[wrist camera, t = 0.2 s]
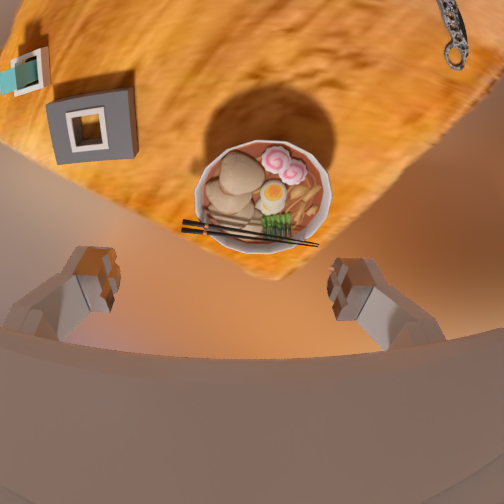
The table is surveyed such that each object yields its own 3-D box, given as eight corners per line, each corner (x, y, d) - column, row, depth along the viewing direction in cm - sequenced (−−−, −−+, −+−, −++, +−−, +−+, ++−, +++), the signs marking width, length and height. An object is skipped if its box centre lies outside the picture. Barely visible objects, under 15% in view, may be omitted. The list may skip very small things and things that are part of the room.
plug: (25, 63, 29) (-2, 73, 23) (41, 57, 29) (14, 66, 23) (27, 82, 31) (1, 95, 26) (43, 77, 32) (16, 89, 26)
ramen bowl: (345, 145, 47) (362, 166, 41) (301, 238, 62) (308, 266, 56) (205, 108, 41) (199, 124, 35) (184, 218, 56) (179, 246, 50)
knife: (371, -57, 19) (412, -67, 14) (367, -55, 20) (408, -66, 15) (449, 76, 35) (481, 61, 30) (444, 74, 36) (476, 59, 31)
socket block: (54, 100, 35) (44, 105, 33) (133, 86, 37) (127, 90, 35) (64, 157, 44) (56, 165, 41) (138, 151, 45) (133, 159, 43)
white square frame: (18, 57, 27) (10, 60, 25) (48, 46, 28) (40, 48, 26) (22, 92, 32) (14, 96, 31) (51, 84, 33) (43, 87, 31)
